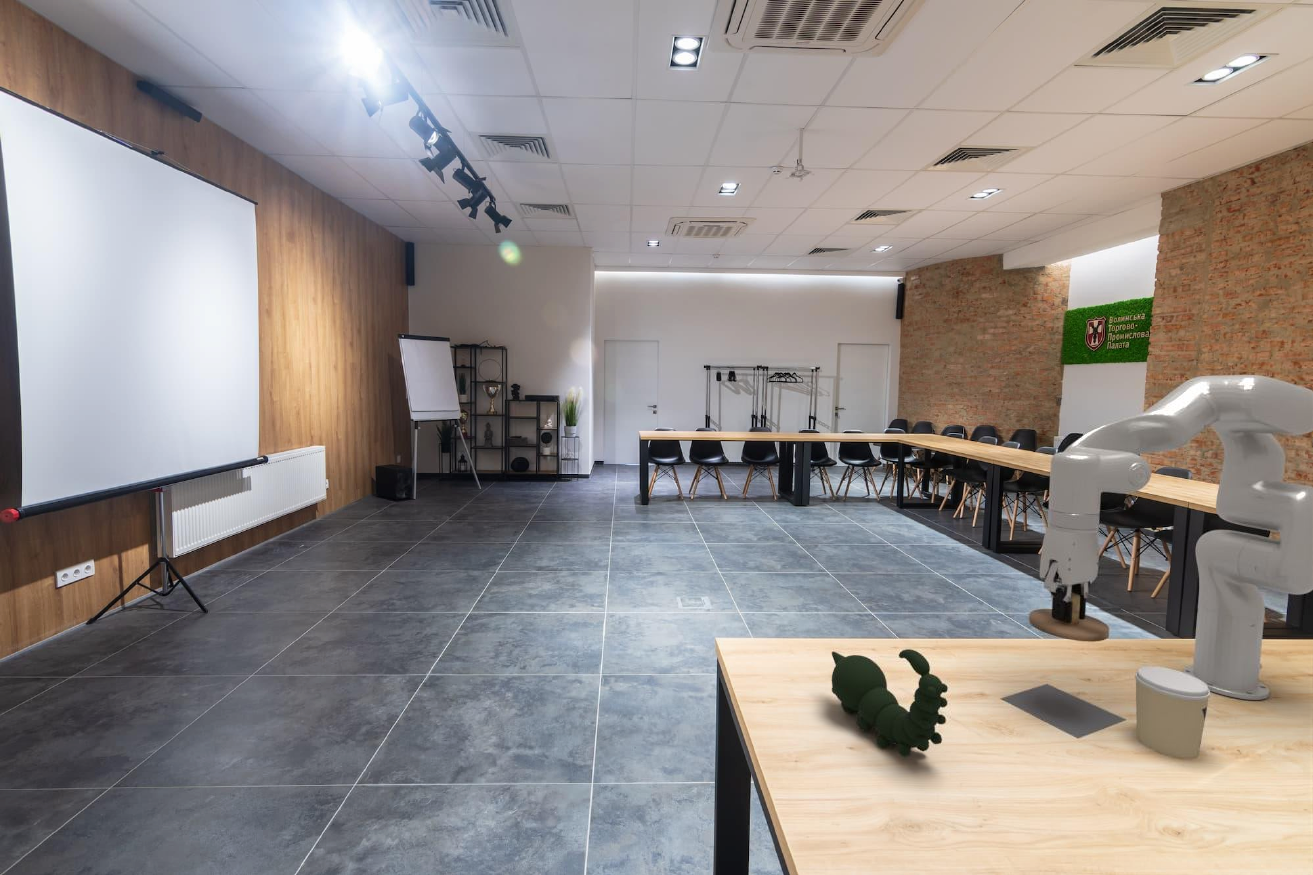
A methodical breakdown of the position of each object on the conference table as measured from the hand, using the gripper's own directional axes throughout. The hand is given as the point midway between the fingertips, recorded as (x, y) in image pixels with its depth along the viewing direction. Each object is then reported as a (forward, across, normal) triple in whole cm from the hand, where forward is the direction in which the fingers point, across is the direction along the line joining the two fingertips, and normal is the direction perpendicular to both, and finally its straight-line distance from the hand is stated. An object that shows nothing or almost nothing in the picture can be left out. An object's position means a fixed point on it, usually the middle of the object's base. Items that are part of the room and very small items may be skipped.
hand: (1068, 617), depth 107 cm
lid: (+2, 0, 0) cm, 2 cm away
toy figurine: (+18, +37, -9) cm, 42 cm away
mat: (+18, +1, 0) cm, 18 cm away
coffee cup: (+18, -4, +14) cm, 23 cm away
